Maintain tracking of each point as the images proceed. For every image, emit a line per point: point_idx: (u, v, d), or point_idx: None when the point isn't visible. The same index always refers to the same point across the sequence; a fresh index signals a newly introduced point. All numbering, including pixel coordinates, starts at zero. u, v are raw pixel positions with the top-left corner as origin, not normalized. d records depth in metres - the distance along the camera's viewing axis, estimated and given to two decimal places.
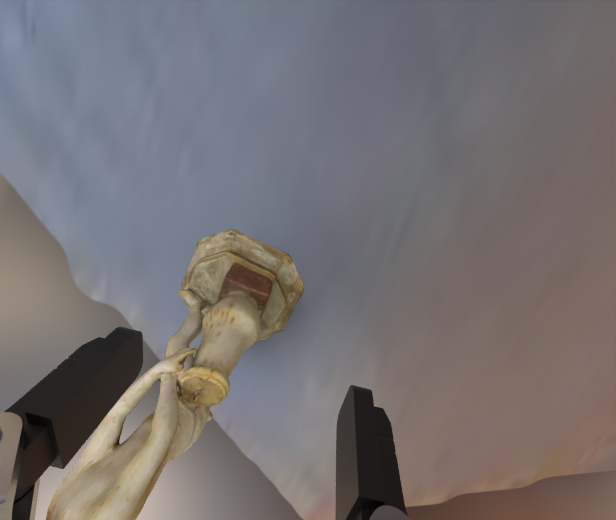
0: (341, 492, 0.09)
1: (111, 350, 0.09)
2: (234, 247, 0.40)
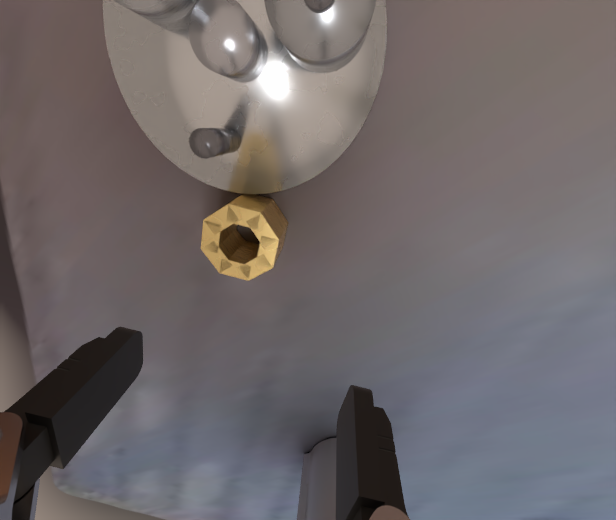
0: (341, 492, 0.09)
1: (111, 350, 0.09)
2: None
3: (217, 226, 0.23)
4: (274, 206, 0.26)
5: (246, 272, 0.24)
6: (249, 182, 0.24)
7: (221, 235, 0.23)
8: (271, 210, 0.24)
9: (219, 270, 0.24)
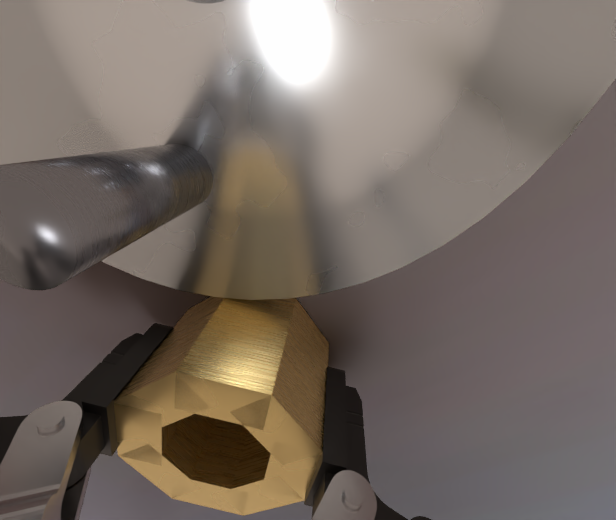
0: None
1: (151, 345, 0.10)
2: None
3: (152, 417, 0.08)
4: (301, 318, 0.11)
5: (237, 502, 0.10)
6: (240, 275, 0.10)
7: (167, 425, 0.09)
8: (296, 345, 0.10)
9: (171, 494, 0.10)
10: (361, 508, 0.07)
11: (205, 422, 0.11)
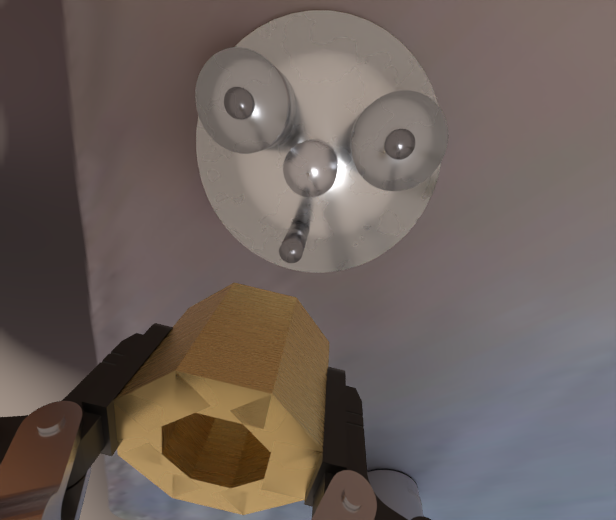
0: None
1: (151, 345, 0.10)
2: None
3: (152, 416, 0.08)
4: (301, 317, 0.11)
5: (237, 501, 0.10)
6: (314, 263, 0.28)
7: (168, 424, 0.09)
8: (296, 344, 0.10)
9: (171, 493, 0.10)
10: (361, 508, 0.07)
11: (205, 421, 0.11)
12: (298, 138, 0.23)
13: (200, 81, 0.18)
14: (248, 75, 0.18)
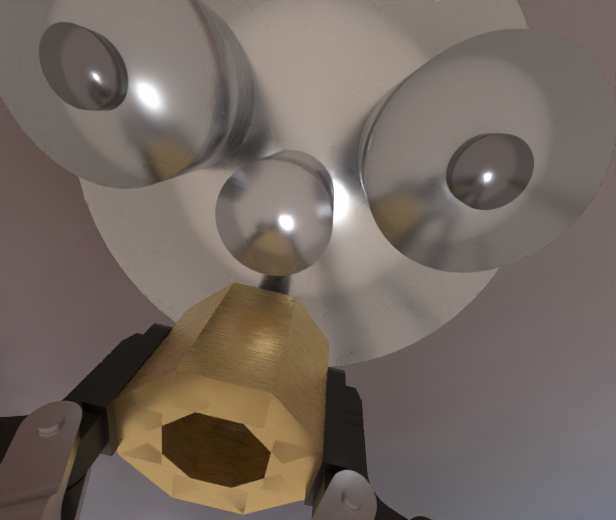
0: None
1: (151, 345, 0.10)
2: None
3: (152, 416, 0.08)
4: (301, 317, 0.11)
5: (237, 501, 0.10)
6: None
7: (168, 424, 0.09)
8: (296, 343, 0.10)
9: (171, 493, 0.10)
10: (361, 508, 0.07)
11: (205, 421, 0.11)
12: (260, 149, 0.12)
13: None
14: None
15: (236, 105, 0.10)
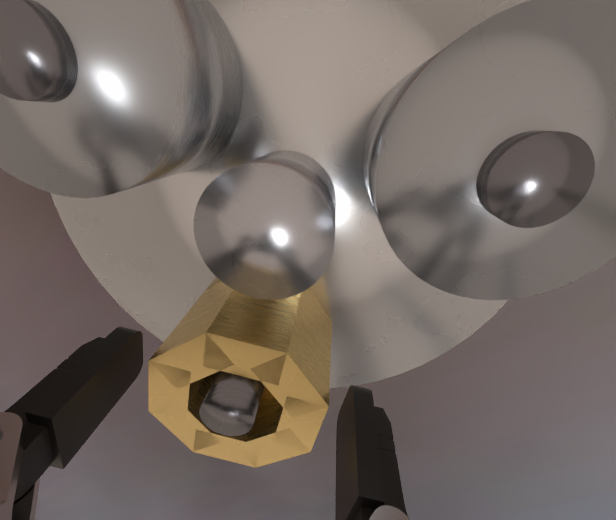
0: (341, 492, 0.09)
1: (111, 350, 0.09)
2: None
3: (182, 374, 0.10)
4: (308, 297, 0.12)
5: (251, 455, 0.11)
6: None
7: (194, 384, 0.10)
8: (305, 318, 0.11)
9: (192, 447, 0.11)
10: None
11: None
12: (250, 149, 0.11)
13: None
14: None
15: (219, 97, 0.08)
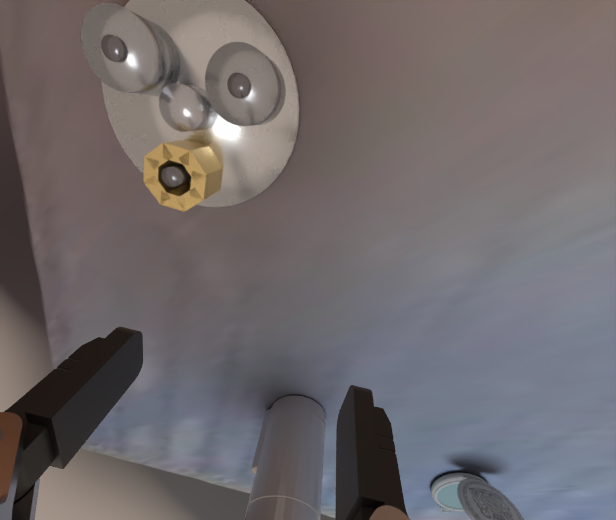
0: (341, 492, 0.09)
1: (111, 350, 0.09)
2: None
3: (155, 162, 0.28)
4: (209, 151, 0.30)
5: (182, 204, 0.29)
6: (210, 198, 0.33)
7: (160, 171, 0.28)
8: (204, 153, 0.29)
9: (160, 202, 0.29)
10: None
11: None
12: None
13: (83, 29, 0.24)
14: (119, 26, 0.23)
15: (168, 64, 0.26)
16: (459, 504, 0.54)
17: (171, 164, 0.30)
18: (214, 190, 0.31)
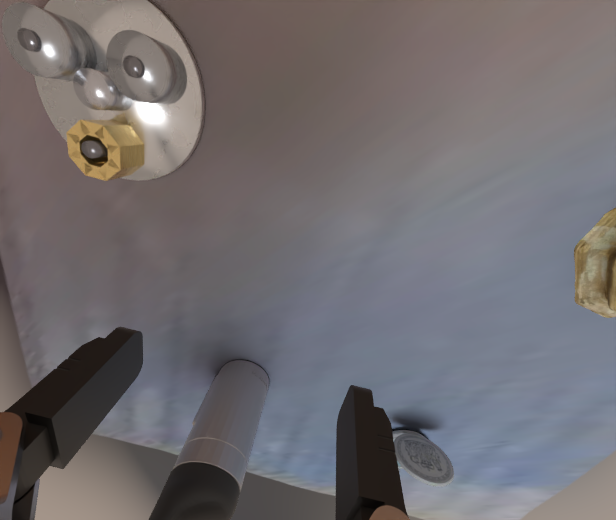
0: (341, 492, 0.09)
1: (111, 350, 0.09)
2: (597, 294, 0.39)
3: (76, 137, 0.32)
4: (129, 129, 0.35)
5: (103, 174, 0.34)
6: (136, 172, 0.38)
7: None
8: (121, 129, 0.34)
9: (85, 173, 0.34)
10: None
11: (98, 159, 0.35)
12: None
13: (4, 25, 0.29)
14: (32, 21, 0.28)
15: (81, 53, 0.31)
16: None
17: None
18: (135, 163, 0.36)
